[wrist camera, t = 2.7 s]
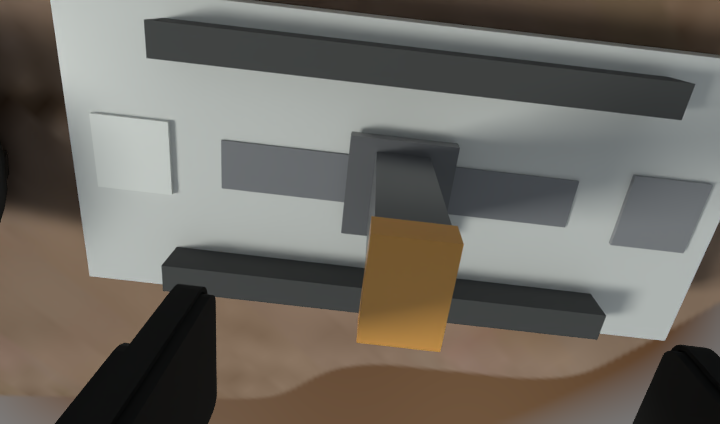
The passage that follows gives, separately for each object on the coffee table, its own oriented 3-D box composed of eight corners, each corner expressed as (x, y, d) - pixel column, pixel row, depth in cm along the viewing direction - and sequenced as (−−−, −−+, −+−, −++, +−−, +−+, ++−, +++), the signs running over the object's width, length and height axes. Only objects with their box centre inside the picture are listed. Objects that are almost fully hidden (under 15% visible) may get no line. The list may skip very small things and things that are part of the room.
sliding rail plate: (163, 17, 17) (144, 19, 15) (668, 76, 17) (695, 84, 16) (178, 270, 21) (163, 290, 20) (582, 316, 21) (597, 339, 20)
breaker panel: (107, -18, 20) (43, -21, 16) (716, 54, 20) (794, 67, 17) (132, 235, 25) (87, 278, 21) (623, 291, 25) (667, 343, 21)
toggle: (351, 131, 18) (333, 214, 11) (457, 143, 18) (506, 233, 11) (341, 226, 20) (321, 350, 13) (439, 237, 20) (471, 367, 13)
